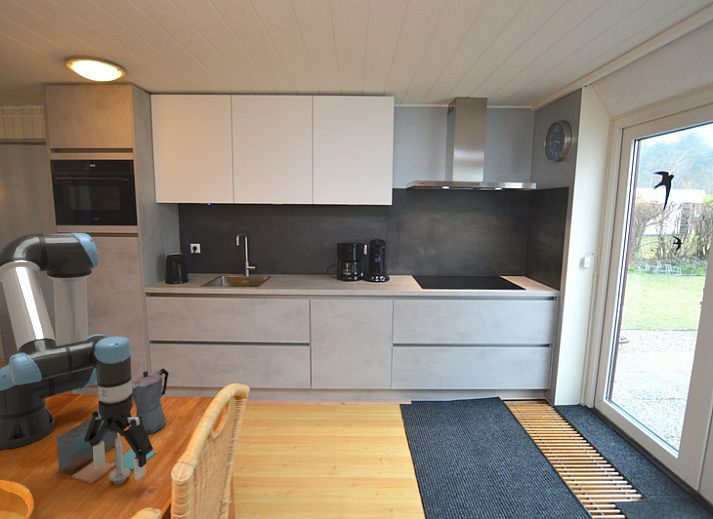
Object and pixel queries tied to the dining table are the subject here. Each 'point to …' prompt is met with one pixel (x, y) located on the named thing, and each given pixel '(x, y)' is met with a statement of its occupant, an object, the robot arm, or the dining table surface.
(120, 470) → the screw
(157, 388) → the moka pot
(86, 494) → the dining table surface
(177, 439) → the dining table surface
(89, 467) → the terracotta pad
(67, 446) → the grey unit
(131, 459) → the teal pad
